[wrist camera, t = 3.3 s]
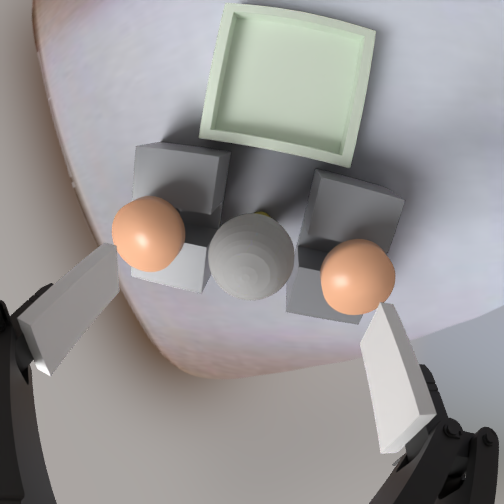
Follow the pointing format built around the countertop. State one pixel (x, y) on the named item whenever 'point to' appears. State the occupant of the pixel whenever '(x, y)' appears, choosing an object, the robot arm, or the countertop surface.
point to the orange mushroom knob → (356, 277)
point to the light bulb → (251, 256)
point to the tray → (288, 82)
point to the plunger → (148, 233)
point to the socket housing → (210, 208)
